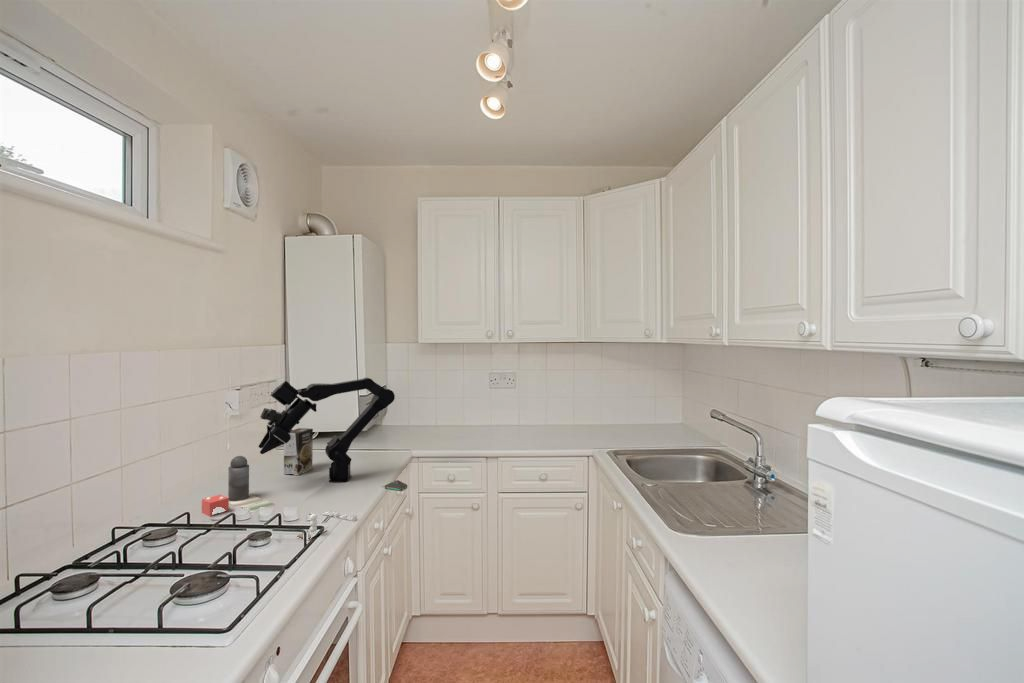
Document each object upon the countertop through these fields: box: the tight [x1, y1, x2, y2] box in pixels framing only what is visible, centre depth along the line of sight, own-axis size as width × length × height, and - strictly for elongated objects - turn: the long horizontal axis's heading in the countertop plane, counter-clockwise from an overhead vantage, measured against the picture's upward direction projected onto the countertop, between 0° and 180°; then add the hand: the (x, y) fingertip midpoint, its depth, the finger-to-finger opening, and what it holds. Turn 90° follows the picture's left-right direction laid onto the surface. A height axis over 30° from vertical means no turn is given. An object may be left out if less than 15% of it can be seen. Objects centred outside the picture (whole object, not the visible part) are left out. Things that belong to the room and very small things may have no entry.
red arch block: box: [201, 494, 230, 517], centre depth 134 cm, size 5×5×6 cm
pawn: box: [227, 455, 250, 502], centre depth 145 cm, size 6×6×13 cm
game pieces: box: [296, 479, 408, 540], centre depth 141 cm, size 45×13×6 cm, turn 158°
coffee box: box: [283, 427, 314, 476], centre depth 178 cm, size 9×6×16 cm
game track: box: [229, 493, 277, 513], centre depth 142 cm, size 20×11×1 cm, turn 56°
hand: (260, 450), depth 155 cm, fingers open, 9 cm apart
